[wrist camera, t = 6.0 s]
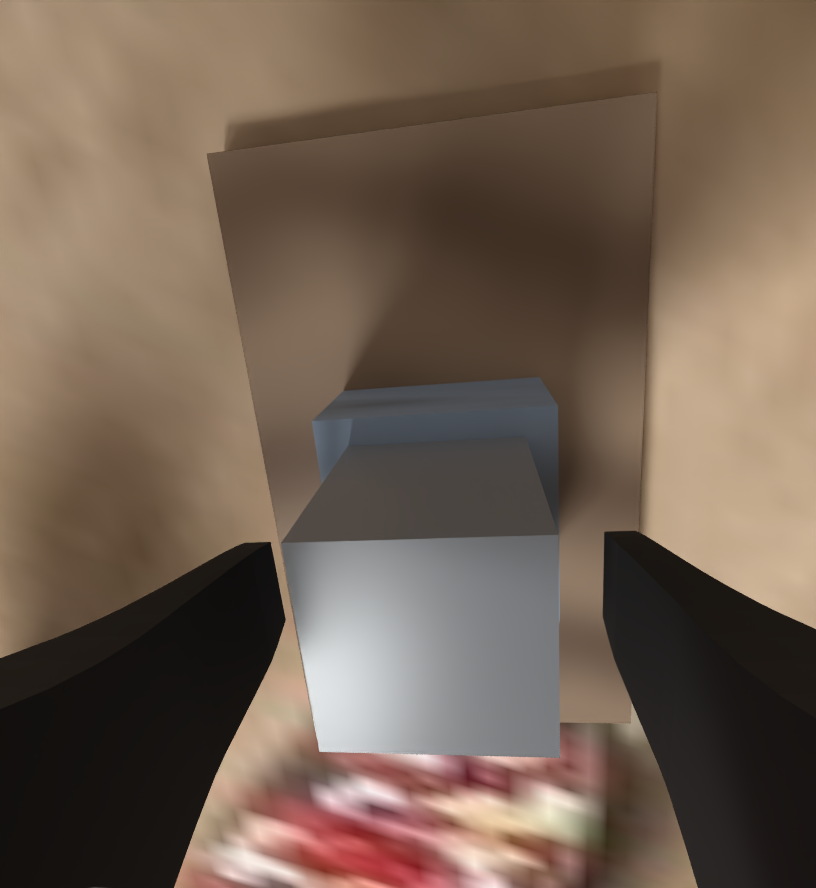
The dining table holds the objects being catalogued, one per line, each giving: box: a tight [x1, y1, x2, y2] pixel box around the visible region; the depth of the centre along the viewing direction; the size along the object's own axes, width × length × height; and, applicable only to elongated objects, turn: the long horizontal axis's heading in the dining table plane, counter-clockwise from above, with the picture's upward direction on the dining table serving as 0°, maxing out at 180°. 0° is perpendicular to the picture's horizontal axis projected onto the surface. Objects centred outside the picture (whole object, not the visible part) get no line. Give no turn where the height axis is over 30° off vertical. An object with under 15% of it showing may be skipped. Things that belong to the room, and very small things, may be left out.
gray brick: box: [281, 437, 560, 758], centre depth 11 cm, size 4×4×5 cm
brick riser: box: [207, 92, 657, 723], centre depth 16 cm, size 20×12×4 cm, turn 5°
